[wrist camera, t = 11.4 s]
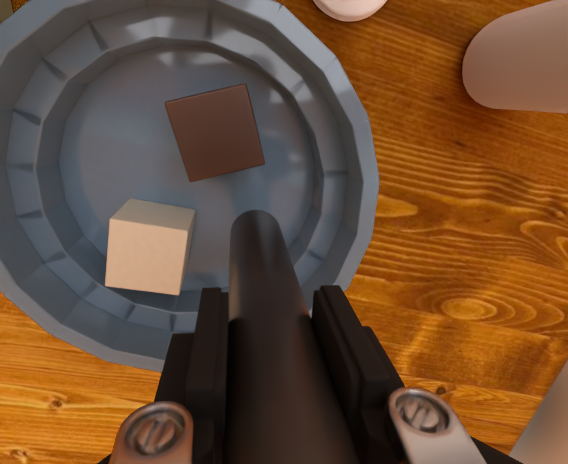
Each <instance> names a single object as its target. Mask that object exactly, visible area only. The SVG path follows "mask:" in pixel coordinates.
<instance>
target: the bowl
mask: <svg viewBox="0 0 568 464" xmlns="http://www.w3.org/2000/svg"><path fill="white" fill-rule="evenodd" d="M243 83H246V84H247V88H248V92H249V96H250V100H251V105H252V109H253V113H254V117H255V122H256V126H257V130H258V134H259V139H260V143H261V147H262V151H263V155H264V160H265V164H264V165H261V166H257V167H253V168H249V169H245V170H241V171H237V172H233V173H228V174H224V175H220V176H216V177H212V178H208V179H204V180H199V181H195V182H190V181H189V179H188V176H187V173H186V170H185V166H184V163H183V160H182V157H181V154H180V151H179V148H178V145H177V142H176V138H175V135H174V132H173V129H172V126H171V123H170V120H169V117H168V114H167V110H166V107H165V102H166V101H169V100H174V99H178V98H182V97H187V96H191V95H195V94H200V93H204V92H208V91H212V90H217V89H221V88H225V87H230V86H234V85H238V84H243ZM368 118H369V116H368V114H367V113H366V111H365V109H364V107H363V105H362V103H361V101H360V99H359V97H358V96H357V94H356V92H355V90H354V88H353V86H352V84H351V82H350V80H349V79H348V77H347V75H346V73H345V71H344V69H343V67H342V65H341V63H340V62H339V60H338V58H337V57H336V55H335V54H334V53H333V52H332V51H331V50H330V49H329V48H328V47H326V46H325V45H324V44H323V43H322V42H321V41H320V40H319V39H318V38H317V37H316V36H315V35H314V34H313V33H312V32H311V31H310V30H309V29H308V28H307V27H306V26H305V25H304V24H303V23H302V22H300V21H299V20H298V19H297V18H296V17H295V16H294V15H293V14H292V13H291V12H290V11H289V10H288V9H287V8H286V7H285V6H284V5H281V4H280V3H278V2H276V1H274V0H29V1H28V2H27V3H26V4H24V5H23V6H22V7H21V8H19V9H18V10H17V11H16V12H14V13H13V14H12V15H11V16H9V17H8V18H7V19H6V20H4V21H3V22H2V23H1V24H0V292H1V293H3V295H4V296H5V297H6V298H7V299H9V300H10V301H11V302H12V303H13V304H14V305H16V306H17V307H18V308H19V309H20V310H22V311H23V312H24V313H25V314H26V315H27V316H29V317H30V318H31V319H32V320H33V321H34V322H36V323H37V324H38V325H39V326H40V327H42V328H43V329H44V330H45V331H46V332H47V333H49V334H52V336H54V337H56V338H58V339H60V340H62V341H64V342H66V343H68V344H71V345H73V346H75V347H77V348H79V349H81V350H83V351H85V352H87V353H89V354H92V355H94V356H96V357H98V358H100V359H102V360H106V362H111V363H116V364H121V365H126V366H131V367H136V368H141V369H146V370H151V371H156V372H162V370H163V366H164V363H165V359H166V355H167V351H168V348H169V344H170V340H171V337H172V334H173V333H192V332H195V327H196V321H197V315H198V309H199V304H200V298H201V292H202V288H211V287H221V292H228V285H229V258H230V232H231V227H232V224H233V222H234V221H235V219H236V218H237V217H238V216H239V215H241V214H242V213H244V212H246V211H249V210H263V211H266V212H268V213H270V214H271V215H272V216H274V217H275V219H276V220H277V221H278V223H279V226H280V229H281V231H282V234H283V237H284V240H285V243H286V246H287V249H288V252H289V255H290V258H291V261H292V264H293V267H294V270H295V273H296V275H297V278H298V281H299V284H300V287H301V290H302V293H303V296H304V299H305V302H306V305H307V308H308V311H309V314H310V317H312V306H313V294H314V291H315V290H320V286H321V285H340V287H341V289H342V290H343V292H344V291H345V290H346V289H347V288H348V287H349V285H350V283H351V281H352V279H353V277H354V275H355V273H356V270H357V268H358V266H359V264H360V262H361V260H362V258H363V256H364V254H365V251H366V249H367V247H368V245H369V243H370V241H371V239H372V233H373V226H374V219H375V212H376V205H377V198H378V191H379V184H380V180H379V179H380V178H379V172H378V166H377V160H376V155H375V149H374V143H373V137H372V131H371V126H370V120H369V119H368ZM131 198H132V199H137V200H143V201H149V202H155V203H161V204H166V205H172V206H178V207H184V208H190V209H195V210H196V213H195V220H194V226H193V233H192V240H191V246H190V253H189V260H188V266H187V269H186V273H185V276H184V280H183V283H182V287H181V291H180V294H179V295H171V294H164V293H156V292H148V291H140V290H132V289H124V288H116V287H108V286H105V277H106V263H107V248H108V234H109V220H110V218H111V217H112V216H113V215H114V214H115V213H116V212H117V211H118V210H119V209H120V208H121V207H122V206H123V205H124V204H125V203H126V202H127V201H128V200H129V199H131Z"/></svg>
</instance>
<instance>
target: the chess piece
mask: <svg viewBox="0 0 568 464" xmlns="http://www.w3.org/2000/svg"><path fill="white" fill-rule="evenodd" d="M313 1H314V3H315V4H316V5H317V6H318V7H319V9H321V10H322V11H323V12H324V13H325V14H327V15H328V16H330V17H332V18H334V19H337V20H341V21H358V20H362V19H364V18H367V17H369V16H371V15H372V14H374V13H375V12H376V11H378V10H379V9H380V8H381V7H382V6H383V5H384V3H385V2H386V1H387V0H313Z"/></svg>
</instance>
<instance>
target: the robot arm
mask: <svg viewBox="0 0 568 464" xmlns="http://www.w3.org/2000/svg"><path fill="white" fill-rule="evenodd" d="M311 320H312V322H313V325H314V328H315V331H316V334H317V337H318V340H319V343H320V346H321V349H322V352H323V355H324V358H325V361H326V364H327V367H328V369H329V372H330V375H331V378H332V381H333V384H334V387H335V390H336V393H337V396H338V399H339V402H340V405H341V408H342V411H343V414H344V416H345V419H346V422H347V425H348V428H349V431H350V434H351V437H352V440H353V443H354V446H355V449H356V452H357V455H358V458H359V460H360V463H361V464H523V463H521V462H519V461H517V460H515V459H513V458H511V457H509V456H508V455H506V454H504V453H502V452H500V451H498V450H496V449H494V448H492V447H490V446H488V445H486V444H485V443H483V442H481V441H479V440H477V439H475V438H473V437H471V436H469V434H468V433H467V431H466V429H465V428H464V426H463V425H462V423H461V421H460V420H459V418H458V417H457V415H456V413H455V412H454V410H453V409H452V408H451V406H450V405H449V404H448V403H447V402H446V401H445V400H444V399H442V398H441V397H440V396H438V395H437V394H435V393H433V392H431V391H429V390H426V389H423V388H419V387H411V386H408V387H405V385H404V383H403V382H402V380H401V378H400V377H399V375H398V373H397V371H396V370H395V368H394V366H393V365H392V363H391V361H390V359H389V358H388V356H387V354H386V353H385V351H384V349H383V347H382V346H381V344H380V342H379V341H378V339H377V337H376V335H375V334H374V332H373V330H372V329H371V328H370V327H368V326H362V325H361V323H360V321H359V320H358V318H357V316H356V314H355V312H354V310H353V309H352V307H351V305H350V303H349V301H348V300H347V298H346V296H345V294H344V292H343V290H342V289H341V287H340V285H321V286H320V290H315V291H314V294H313V306H312V317H311ZM228 324H229V321H228V292H221V287H211V288H202V292H201V298H200V304H199V309H198V315H197V321H196V327H195V332H192V333H173V334H172V337H171V340H170V344H169V348H168V351H167V355H166V359H165V363H164V366H163V370H162V374H161V378H160V381H159V385H158V389H157V393H156V396H155V400H154V403H149V404H147V405H145V406H143V407H140V408H138V409H137V410H136V411H134V412H133V413H131V414H130V415H129V416H128V417H127V418H126V419H125V421H124V422H123V423H122V424H121V426H120V428H119V431H118V433H117V436H116V439H115V443H114V446H113V450H112V453H111V454H110V455H108V456H107V457H106V458H104V459H103V460H102V461H100V462H99V463H97V464H222V449H223V439H224V435H225V423H226V390H227V357H228Z"/></svg>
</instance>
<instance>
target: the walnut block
mask: <svg viewBox="0 0 568 464" xmlns="http://www.w3.org/2000/svg"><path fill="white" fill-rule="evenodd" d="M165 107H166V110H167V114H168V117H169V120H170V123H171V126H172V129H173V132H174V135H175V138H176V142H177V145H178V148H179V151H180V154H181V157H182V160H183V163H184V166H185V170H186V173H187V176H188V179H189V181H190V182H195V181H199V180H204V179H208V178H212V177H216V176H220V175H224V174H228V173H233V172H237V171H241V170H245V169H249V168H253V167H257V166H261V165H264V164H265V160H264V155H263V151H262V147H261V143H260V139H259V134H258V130H257V126H256V122H255V117H254V113H253V109H252V105H251V100H250V96H249V92H248V88H247V84H246V83H243V84H238V85H234V86H230V87H225V88H221V89H217V90H212V91H208V92H204V93H200V94H195V95H191V96H187V97H182V98H178V99H174V100H169V101H166V102H165Z"/></svg>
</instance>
